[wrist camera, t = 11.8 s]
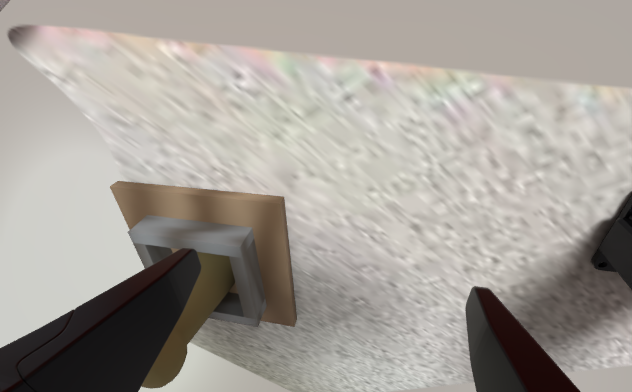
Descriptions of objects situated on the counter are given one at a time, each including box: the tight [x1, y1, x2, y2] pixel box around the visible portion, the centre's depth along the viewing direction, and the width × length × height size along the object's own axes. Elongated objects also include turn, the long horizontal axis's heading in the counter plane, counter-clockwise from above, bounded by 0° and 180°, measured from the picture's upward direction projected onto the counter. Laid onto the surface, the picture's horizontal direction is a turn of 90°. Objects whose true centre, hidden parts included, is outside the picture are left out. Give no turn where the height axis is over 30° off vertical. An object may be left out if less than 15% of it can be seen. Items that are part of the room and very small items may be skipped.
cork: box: [142, 252, 235, 388], centre depth 26 cm, size 6×6×11 cm
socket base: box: [110, 181, 297, 327], centre depth 29 cm, size 16×16×4 cm
